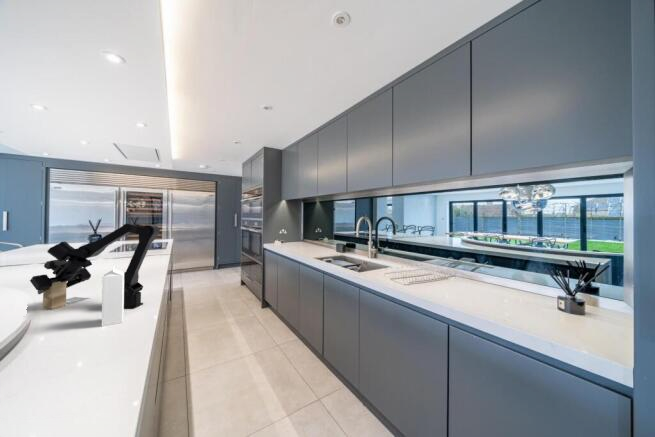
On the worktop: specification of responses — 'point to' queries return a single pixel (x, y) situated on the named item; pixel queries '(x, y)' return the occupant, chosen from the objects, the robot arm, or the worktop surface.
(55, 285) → the oak block
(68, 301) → the tile
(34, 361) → the worktop surface
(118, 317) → the milk
